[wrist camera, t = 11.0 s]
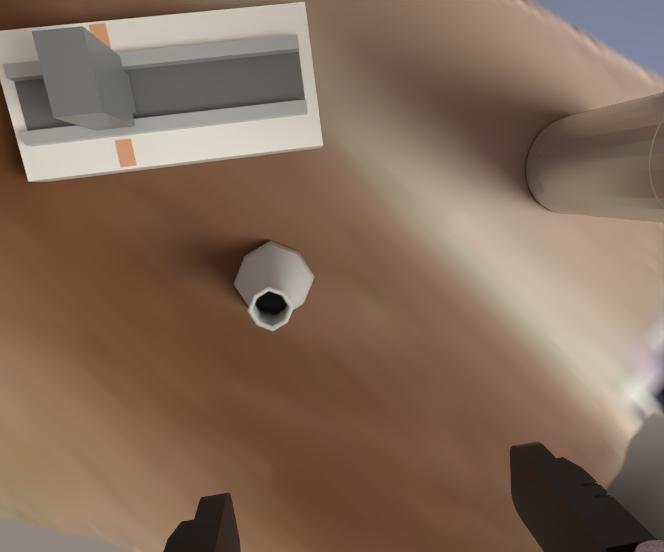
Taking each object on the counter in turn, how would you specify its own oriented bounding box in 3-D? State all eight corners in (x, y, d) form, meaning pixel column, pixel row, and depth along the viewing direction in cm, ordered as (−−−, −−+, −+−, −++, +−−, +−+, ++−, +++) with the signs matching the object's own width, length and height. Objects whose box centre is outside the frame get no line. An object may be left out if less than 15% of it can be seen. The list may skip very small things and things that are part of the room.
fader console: (303, 14, 36) (305, -4, 32) (320, 148, 38) (324, 144, 35) (8, 43, 34) (-23, 27, 30) (45, 181, 36) (20, 181, 33)
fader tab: (125, 60, 32) (82, 26, 26) (139, 127, 34) (102, 112, 27) (85, 64, 32) (31, 31, 25) (101, 132, 33) (53, 117, 27)
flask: (279, 330, 41) (277, 374, 32) (219, 284, 40) (198, 315, 30) (327, 275, 41) (340, 302, 31) (269, 226, 39) (263, 239, 29)
